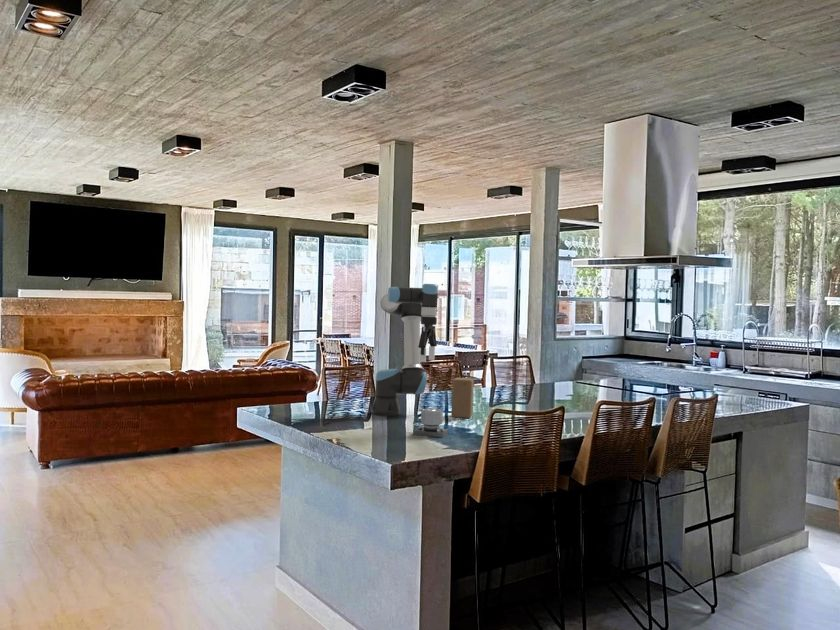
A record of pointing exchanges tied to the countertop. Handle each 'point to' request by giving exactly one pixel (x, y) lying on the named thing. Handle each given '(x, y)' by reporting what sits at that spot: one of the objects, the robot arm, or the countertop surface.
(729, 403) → the countertop surface
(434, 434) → the shaft stand
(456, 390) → the wooden block
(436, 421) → the hub
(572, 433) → the countertop surface
